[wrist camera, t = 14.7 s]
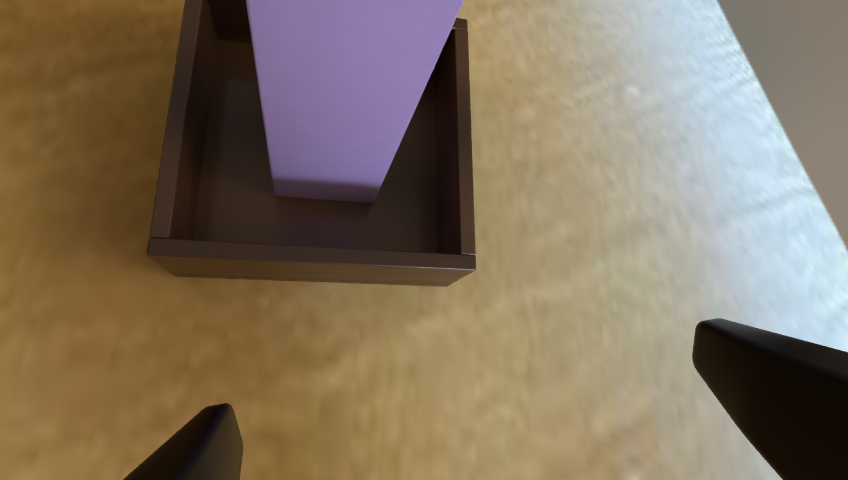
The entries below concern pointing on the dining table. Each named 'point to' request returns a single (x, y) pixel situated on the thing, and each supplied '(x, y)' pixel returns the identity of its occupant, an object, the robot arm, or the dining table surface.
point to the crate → (302, 217)
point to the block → (342, 87)
